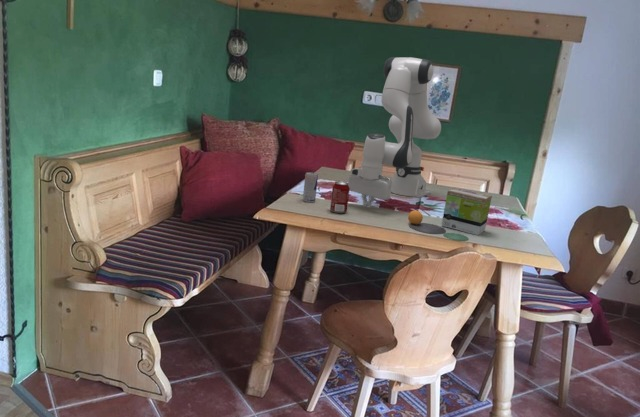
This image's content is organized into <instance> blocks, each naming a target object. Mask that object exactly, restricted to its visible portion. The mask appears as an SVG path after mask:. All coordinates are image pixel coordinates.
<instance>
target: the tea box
mask: <svg viewBox="0 0 640 417" xmlns="http://www.w3.org/2000/svg"><path fill="white" fill-rule="evenodd" d="M492 197H493V195H491V194H486V193H482V192H477V191H473V190H467V189H464V188H459V187H454V188H452V189H450V190H447V195H446V199H445V205H444V210H443V215H442V219H441V221H442V222H441V227H443V228H449V229H453V230H457V231H461V232H464V233H468V234H472V235H475V236H479V235H480V234H482V233H484V232H485V231H486V227H487V222H488V217H489V213H490V208H491V203H492Z"/></svg>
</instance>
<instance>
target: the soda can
mask: <svg viewBox="0 0 640 417" xmlns="http://www.w3.org/2000/svg"><path fill="white" fill-rule="evenodd" d="M348 184H349V183H348V181H340V180H338V181H334V184H333V185H332V188H331V189H332V191H331V198H330V208H329V209H330V211H331V212H332V213H335V214H339V213H342V214H345V213H348V212H347V211H348V205H349V196H350V191H349V190H350V188H349V186H348Z"/></svg>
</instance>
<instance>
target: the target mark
mask: <svg viewBox="0 0 640 417" xmlns="http://www.w3.org/2000/svg"><path fill="white" fill-rule="evenodd" d="M408 226H409V228H410V229H412V230H413V231H417V232H420V233H424V234H432V235H444V233H447V230H446V229H445V227H443V226H439V225H437V224H432V223H427V222H421V223H419V224H417V225H414V224H411V223H409V225H408Z"/></svg>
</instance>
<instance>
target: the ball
mask: <svg viewBox="0 0 640 417" xmlns="http://www.w3.org/2000/svg"><path fill="white" fill-rule="evenodd" d="M423 218H424V216H423V213H422V212H421V211H419V210H415V209H414V210H411V211H410V212H409V213H408V215H407V220H408V222H409V224H414V225H417V224H419V223H422V222H423Z"/></svg>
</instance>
